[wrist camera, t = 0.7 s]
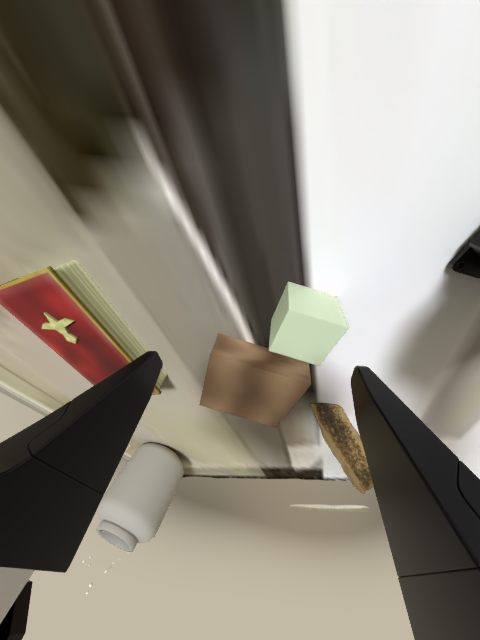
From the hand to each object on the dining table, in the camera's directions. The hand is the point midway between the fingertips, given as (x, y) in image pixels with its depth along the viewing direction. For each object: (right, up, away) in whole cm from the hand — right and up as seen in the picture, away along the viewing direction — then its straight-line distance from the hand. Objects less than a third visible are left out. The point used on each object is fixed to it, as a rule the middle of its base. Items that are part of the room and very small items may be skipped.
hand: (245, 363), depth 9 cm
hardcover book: (-21, 0, +21) cm, 30 cm away
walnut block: (+2, -6, +21) cm, 21 cm away
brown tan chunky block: (+16, -14, +24) cm, 32 cm away
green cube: (+6, +3, +12) cm, 14 cm away
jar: (-23, -34, +48) cm, 63 cm away
